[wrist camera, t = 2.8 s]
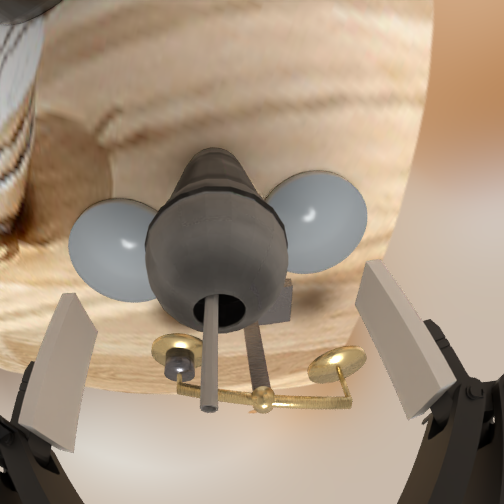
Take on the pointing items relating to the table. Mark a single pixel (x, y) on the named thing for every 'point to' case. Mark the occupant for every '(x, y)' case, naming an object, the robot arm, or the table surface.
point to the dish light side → (319, 219)
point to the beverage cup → (215, 256)
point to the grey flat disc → (113, 249)
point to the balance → (260, 365)
